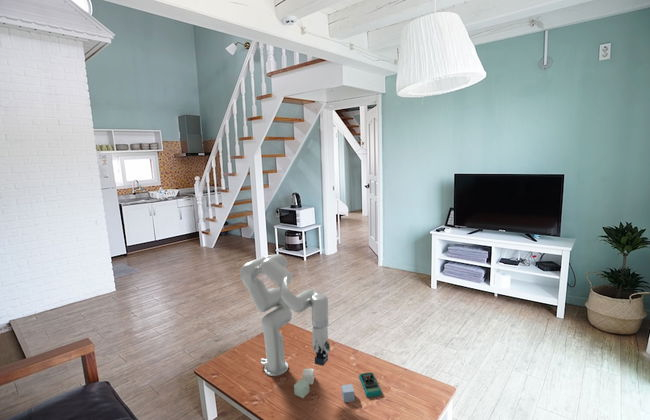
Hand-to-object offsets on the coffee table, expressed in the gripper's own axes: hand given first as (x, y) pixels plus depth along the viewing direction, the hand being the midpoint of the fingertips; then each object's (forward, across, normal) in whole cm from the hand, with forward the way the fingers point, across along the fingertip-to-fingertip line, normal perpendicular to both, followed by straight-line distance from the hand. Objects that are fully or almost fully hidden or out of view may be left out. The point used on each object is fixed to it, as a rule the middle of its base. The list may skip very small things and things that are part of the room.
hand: (321, 356), depth 160 cm
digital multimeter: (+18, -8, +22) cm, 29 cm away
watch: (+3, 0, 0) cm, 3 cm away
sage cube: (+18, +4, -9) cm, 20 cm away
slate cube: (+17, +2, +13) cm, 22 cm away
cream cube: (+18, -5, -9) cm, 20 cm away
